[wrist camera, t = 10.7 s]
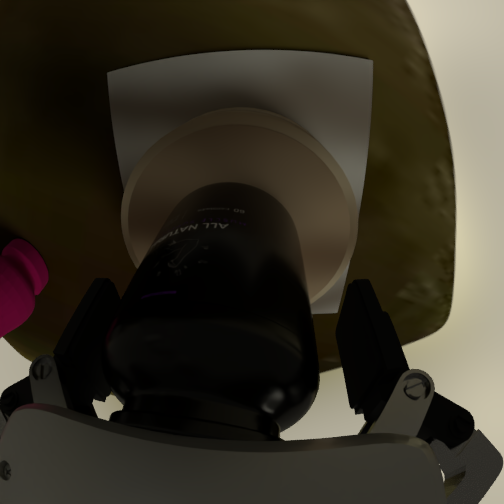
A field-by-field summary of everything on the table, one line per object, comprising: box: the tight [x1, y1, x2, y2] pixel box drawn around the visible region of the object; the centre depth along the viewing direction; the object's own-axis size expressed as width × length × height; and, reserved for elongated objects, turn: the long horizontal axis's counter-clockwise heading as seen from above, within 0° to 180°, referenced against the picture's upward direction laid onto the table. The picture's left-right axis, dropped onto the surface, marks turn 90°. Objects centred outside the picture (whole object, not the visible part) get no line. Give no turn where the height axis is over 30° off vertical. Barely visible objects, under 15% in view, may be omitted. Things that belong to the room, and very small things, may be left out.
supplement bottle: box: [100, 182, 320, 441], centre depth 9 cm, size 7×7×12 cm
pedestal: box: [107, 50, 373, 314], centre depth 16 cm, size 20×16×5 cm
